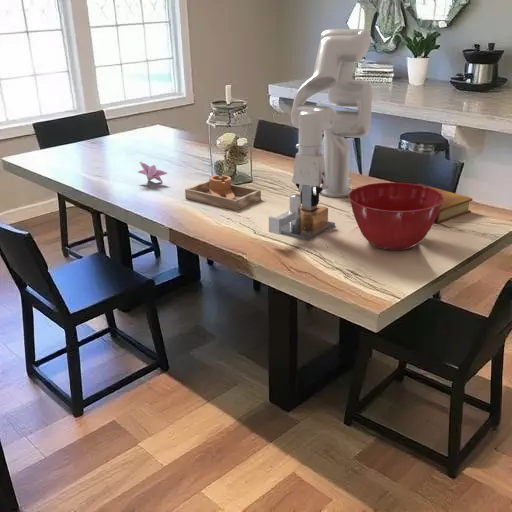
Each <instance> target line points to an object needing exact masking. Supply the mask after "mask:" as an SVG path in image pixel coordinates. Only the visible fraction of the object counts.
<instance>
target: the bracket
mask: <svg viewBox="0 0 512 512" xmlns="http://www.w3.org/2000/svg"><path fill="white" fill-rule="evenodd" d="M208 181H209V190H208V192H209V193H208V194H212V195H216V196H221V197H225V198H229V199H234V200H236V195H235V194H234V193H233V192H232V190H231V184H232V178H231V177H230V176H228V175H223V174H222V175H221V176H220V174H216V175H211V176H209V180H208Z"/></svg>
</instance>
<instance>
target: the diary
mask: <svg viewBox="0 0 512 512" xmlns="http://www.w3.org/2000/svg"><path fill="white" fill-rule="evenodd" d="M416 185H421V186H425V187H429V188H432V189H435V190H437V191H438V192H440V193H441V194H442V195H443V197H444V200H443V202H442V203H441V206H440V209H439V212H438V214H437V217H436V219H435V221H434V223H433V224H436V225H440V224H442V223H445V222H448V221H451V220H453V219H455V218H458V217H461V216H464V215H466V214H469V213H472V210H470V209H469V207H470V202H472V201H473V198H472V197H469V196H465V195H462V194H458V193H455V192H451V191H448V190H443V189H441V188H436V187H433V186H430V185H426V184H422V183H417V184H416Z"/></svg>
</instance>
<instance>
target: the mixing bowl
mask: <svg viewBox="0 0 512 512" xmlns="http://www.w3.org/2000/svg"><path fill="white" fill-rule="evenodd" d="M348 200H350V205H351V210H352V213H353V216H354V218H355V221H356V224H357V226H358V229H359V231H360V232H361V235H362V236H363V237H364V239H366V240H367V241H368V242H369V243H370V244H372V245H374V246H375V247H377V248H380V249H383V250H392V251H400V250H407V249H410V248H413V247H414V246H416V245H418V244H419V243H420V242H421V241H423V240H424V239H425V237H426V236H427V234H428V233H429V231H430V230H431V229H432V226H433V225H434V224H435V223H434V221H435V219H436V217H437V214H438V212H439V209H440V206H441V203H442V202H443V200H444V197H443V195H442V194H441V193H440V192H438V191H437V190H435V189H432V188H429V187H425V186H421V185H417V184H413V183H408V182H407V183H406V182H377V183H370V184H365V185H361V186H358V187H356V188H354V189H352V191H351V192H350V193H349V195H348Z"/></svg>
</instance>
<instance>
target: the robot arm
mask: <svg viewBox="0 0 512 512" xmlns="http://www.w3.org/2000/svg"><path fill="white" fill-rule="evenodd" d="M319 40H320V41H319V45H318V49H317V54H316V58H315V63H314V68H313V74H312V76H311V77H310V78H308V79H307V80H306V81H305V82H304V83H303V84H302V85H301V86H300V87H299V88H298V90H297V92H296V94H295V96H294V99H293V102H292V107H291V111H290V112H291V113H290V122H291V125H292V126H293V127H295V128H296V129H298V143H296V145H295V148H296V149H297V150H298V152H296V153H295V157H294V162H293V163H294V164H293V174H292V175H293V176H292V179H291V182H292V183H293V184H294V185H295V187H296V188H297V189H298V192H299V195H301V205H302V185H306V186H312V187H313V195H312V206H313V207H314V206H316V205H317V206H319V202H320V195H322V196H325V197H330V198H342V197H343V198H344V197H347V196H348V197H349V193H350V192H351V191H352V190H353V189H352V188H351V187H349V185H350V184H351V183H352V182H353V181H354V180H353V178H352V177H350V176H349V175H350V155H351V153H350V152H351V151H350V150H351V148H350V145H349V143H348V141H347V140H346V138H357V139H358V138H359V139H360V138H365V137H367V136H368V135H369V133H370V128H371V118H372V104H373V88H372V84H371V83H370V82H369V81H367V80H363V79H361V80H360V79H353V70H354V65H353V63H358V62H359V61H361V60H362V59H363V58H364V56H366V54H368V51H369V49H370V45H371V36H370V33H369V31H368V30H366V29H364V28H363V29H362V28H330V29H329V28H328V29H325V30H323V31H322V32H321V34H320V39H319ZM325 90H328V91H327V99H328V103H329V104H330V105H332V106H334V107H347V108H349V107H351V108H357V110H349V109H348V110H347V109H345V110H344V109H333V108H332V107H330V106H328V105H327V106H326V105H311V104H308V105H307V104H306V102H307V101H308V99H310V98H311V97H312V96H314V95H316V94H318V93H322V92H323V91H325ZM323 139H324V142H323ZM323 143H324V149H323ZM323 151H324V153H323Z"/></svg>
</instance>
